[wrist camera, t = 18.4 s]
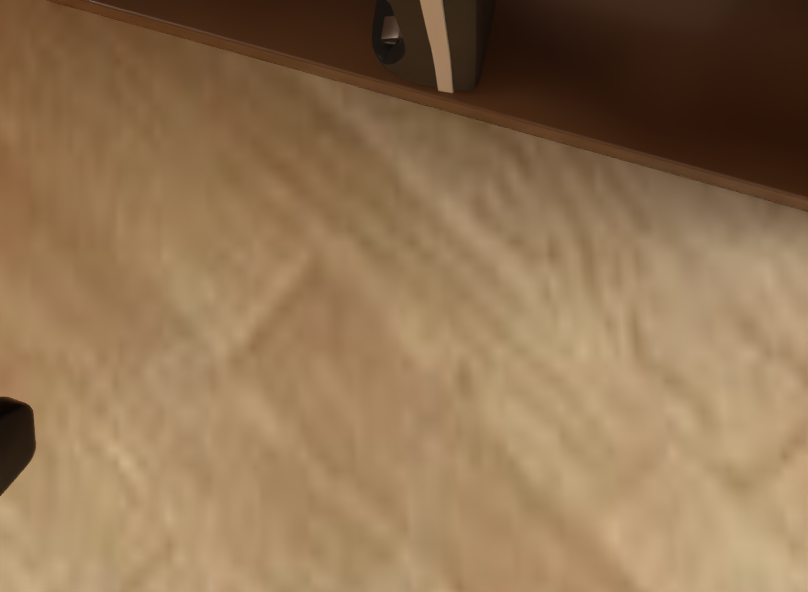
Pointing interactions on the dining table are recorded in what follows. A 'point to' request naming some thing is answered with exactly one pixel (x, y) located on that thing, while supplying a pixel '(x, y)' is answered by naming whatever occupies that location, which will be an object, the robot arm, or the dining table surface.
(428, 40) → the black rounded piece
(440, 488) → the dining table surface
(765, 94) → the brown wooden cubby shelf
